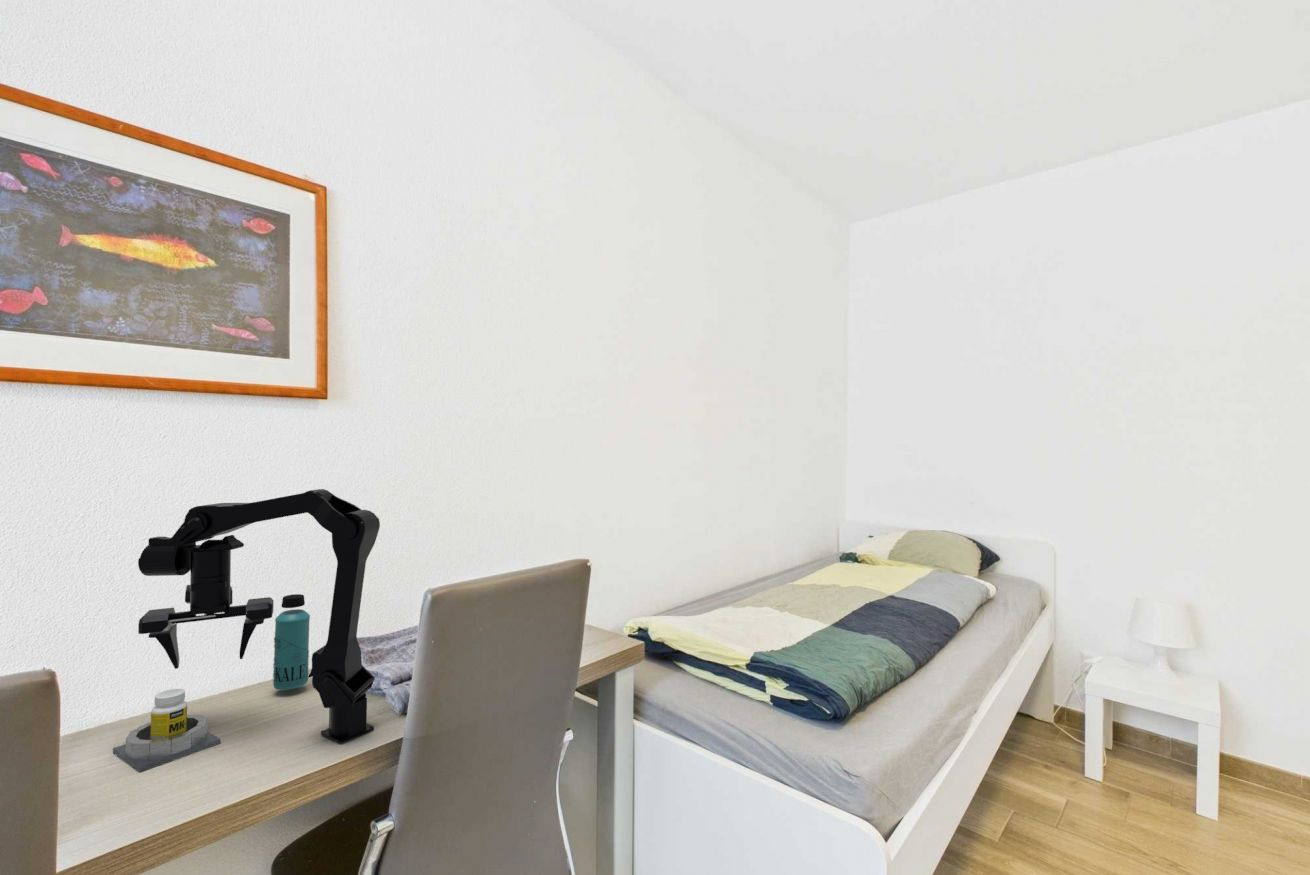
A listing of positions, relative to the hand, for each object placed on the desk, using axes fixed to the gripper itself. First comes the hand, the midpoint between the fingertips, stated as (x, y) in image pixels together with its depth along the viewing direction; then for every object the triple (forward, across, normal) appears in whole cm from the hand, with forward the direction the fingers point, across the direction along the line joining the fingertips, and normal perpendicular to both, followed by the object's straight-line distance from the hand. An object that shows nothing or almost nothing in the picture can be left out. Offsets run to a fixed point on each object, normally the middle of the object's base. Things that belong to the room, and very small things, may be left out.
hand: (209, 663), depth 105 cm
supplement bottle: (+12, +5, +2) cm, 13 cm away
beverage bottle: (+13, -12, -15) cm, 23 cm away
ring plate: (+12, +5, +2) cm, 14 cm away
